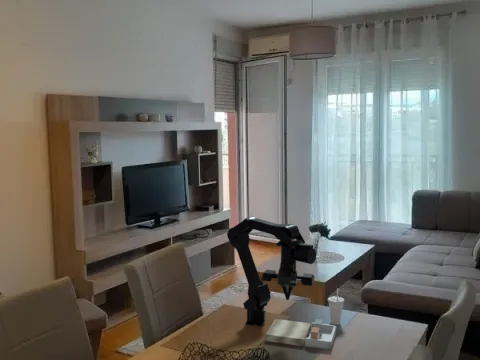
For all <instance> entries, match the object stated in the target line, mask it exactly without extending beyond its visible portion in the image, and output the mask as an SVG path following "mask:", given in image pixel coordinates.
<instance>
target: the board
mask: <svg viewBox="0 0 480 360" xmlns="http://www.w3.org/2000/svg"><path fill="white" fill-rule="evenodd" d="M311 330H312V322H310V323H309V322H303V321H294V320H288V319H287V320H286V319H278V318H275V319H274V320H273V321H272V324H271V325H270V327H269V328H268V330H266V333H265V337H264V338H265V340H264V341H265V342H272V343H276V344H277V343H278V344H285V345H292V346H298V347H305V338H308V337H309V335H310V333H311Z"/></svg>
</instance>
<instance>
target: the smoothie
mask: <svg viewBox="0 0 480 360" xmlns="http://www.w3.org/2000/svg"><path fill="white" fill-rule="evenodd" d="M327 302H328V311H329V321H330V324H331V325H340V324H341V318H342V312H343V307H344V304H345V299H344V298H343V297H341V296H339V288H338V287H337V288H336V296H333V295H332V296H329V297H327Z"/></svg>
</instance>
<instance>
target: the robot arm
mask: <svg viewBox="0 0 480 360" xmlns="http://www.w3.org/2000/svg"><path fill="white" fill-rule="evenodd" d="M227 230H228V231H227V233H226V237H227V239H228V241H229V243H230V245H231V247H233V248H234V249H235V250H236V252H237V255H238V258H239V260H240V263H241V266H242V269H243V272H244V275H245V279H246V280H247V284H248V287H247V288H248V289H247V297H248V299H246V300H245V301H244V302H243V303H242V304H243V308H244V310H246V321H245V325H250V326H257V327H258V326H259V327H261V326H263V324H264V323H265V322H266V314H267V313H266V312H267V311H266V310H265V307H267V306H268V303H269V302H270V300H271V297H272V296H271V294H272V292H271V291H270V288H269V284H268V283H264V282H271V281H273V279H277V283H276V284H277V285H279V286H280V287H281V289H282V291H283V294H284V297H285V300H286V301H289V300H290V298H291V296H292V292H293V290H294V288H295V287H297V286H298V285H299V283H301V284H302V285H303V286H310V287H311V286H313V285H314V282H315V275H314V274H313V273H305V272H304V273H303V274H302V275H298V272H297V262H300V263H305V264H308V265H313V264H314V263H315V262H316V259H317V252H316V249H315V248H314V244H308V243H306V241H305V239H304V237H303V236H302V233H301V232H300V229H299V227H298V225H296V224H290V223H281V224H280V223H275V222H272V221H268V220H264V219H261V218H257V217H256V216H255V217H254V216H250V217H246V218H244V219H243V220H242V221H240V222H239V223H238V224H236V225H234V226H233V227H230V228H229V229H227ZM253 230H255V231H259V232H262V233H265V234H267V235H268V234H269V235H271V236H274V238H275V239H277V240H278V242H276V244H275V245H276V246H277V247H280V264H279V269H278V272H277V271H276V270H275V269H266V270H264V272H263V273H262V274H261V278H260V275H259V271H258V269H257V267H256V263H255V261H254V257H253V255H252V252H251V250H250V233H251V232H253ZM263 281H264V282H263Z"/></svg>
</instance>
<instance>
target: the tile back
mask: <svg viewBox="0 0 480 360" xmlns="http://www.w3.org/2000/svg"><path fill="white" fill-rule="evenodd" d="M323 321H324V320H323V319H320V318H315V320H314V323H315V324H314V327H318V328H320V335H319V336H321V334H322V324H323Z"/></svg>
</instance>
